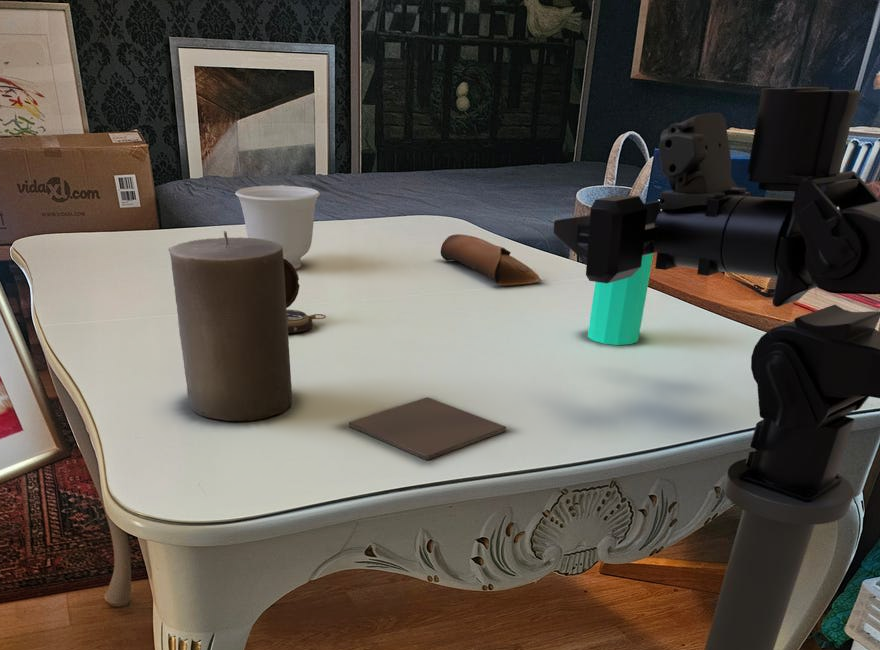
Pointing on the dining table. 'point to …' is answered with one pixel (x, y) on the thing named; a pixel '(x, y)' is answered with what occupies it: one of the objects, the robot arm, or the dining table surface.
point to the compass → (295, 318)
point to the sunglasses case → (488, 260)
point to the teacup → (280, 217)
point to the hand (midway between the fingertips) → (586, 220)
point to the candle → (620, 307)
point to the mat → (427, 427)
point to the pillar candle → (233, 326)
